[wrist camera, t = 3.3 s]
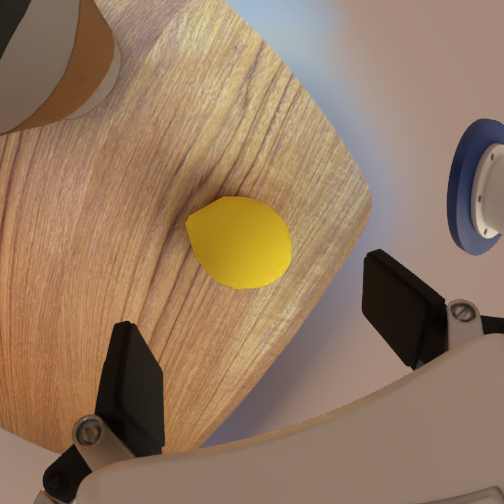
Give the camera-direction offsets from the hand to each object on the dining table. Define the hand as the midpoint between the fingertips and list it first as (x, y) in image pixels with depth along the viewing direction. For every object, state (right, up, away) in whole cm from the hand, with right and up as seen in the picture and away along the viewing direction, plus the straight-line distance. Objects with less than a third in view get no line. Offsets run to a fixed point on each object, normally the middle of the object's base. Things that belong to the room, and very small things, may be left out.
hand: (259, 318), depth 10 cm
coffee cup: (-11, +14, +2) cm, 18 cm away
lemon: (-2, +4, +9) cm, 10 cm away
